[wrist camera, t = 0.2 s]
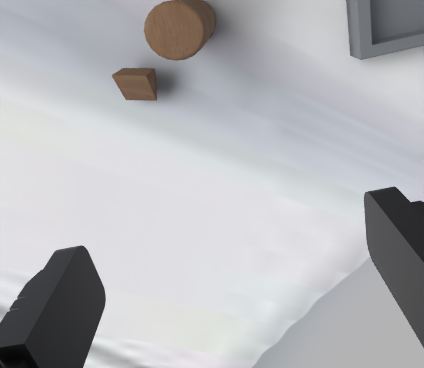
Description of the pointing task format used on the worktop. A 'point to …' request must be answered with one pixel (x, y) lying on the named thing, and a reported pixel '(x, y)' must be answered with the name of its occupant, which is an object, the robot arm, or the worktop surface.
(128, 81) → the wooden block set
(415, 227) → the robot arm
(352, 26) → the tray
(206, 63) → the worktop surface
